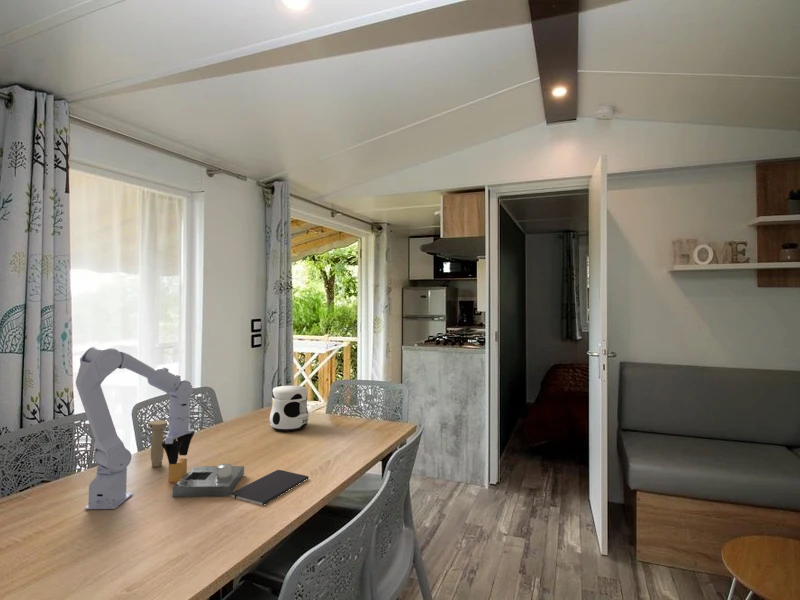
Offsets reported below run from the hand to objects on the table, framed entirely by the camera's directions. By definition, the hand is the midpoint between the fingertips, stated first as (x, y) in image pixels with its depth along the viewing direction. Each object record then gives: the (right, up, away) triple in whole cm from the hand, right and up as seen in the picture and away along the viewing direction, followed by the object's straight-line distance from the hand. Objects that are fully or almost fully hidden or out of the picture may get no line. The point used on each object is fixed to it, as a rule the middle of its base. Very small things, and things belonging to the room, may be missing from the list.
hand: (178, 459), depth 141 cm
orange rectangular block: (0, -7, 0) cm, 7 cm away
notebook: (+31, -8, -5) cm, 33 cm away
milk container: (+21, -8, +60) cm, 63 cm away
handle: (-13, -6, +11) cm, 18 cm away
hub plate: (+12, -7, -4) cm, 14 cm away
